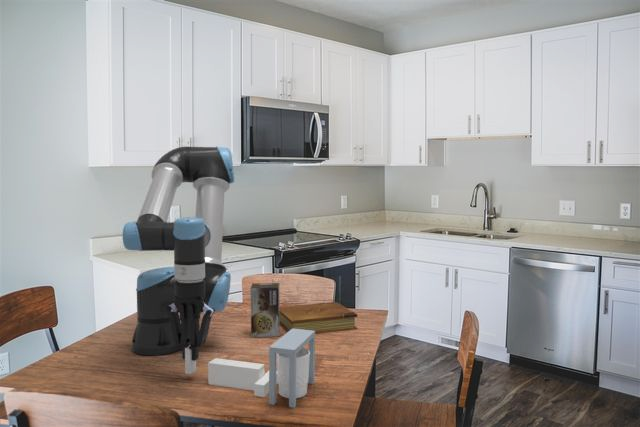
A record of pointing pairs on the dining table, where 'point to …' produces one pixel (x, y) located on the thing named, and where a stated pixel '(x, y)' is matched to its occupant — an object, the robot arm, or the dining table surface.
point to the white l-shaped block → (239, 375)
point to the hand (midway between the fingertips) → (190, 372)
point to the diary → (317, 317)
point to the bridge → (291, 360)
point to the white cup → (301, 373)
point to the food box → (265, 310)
